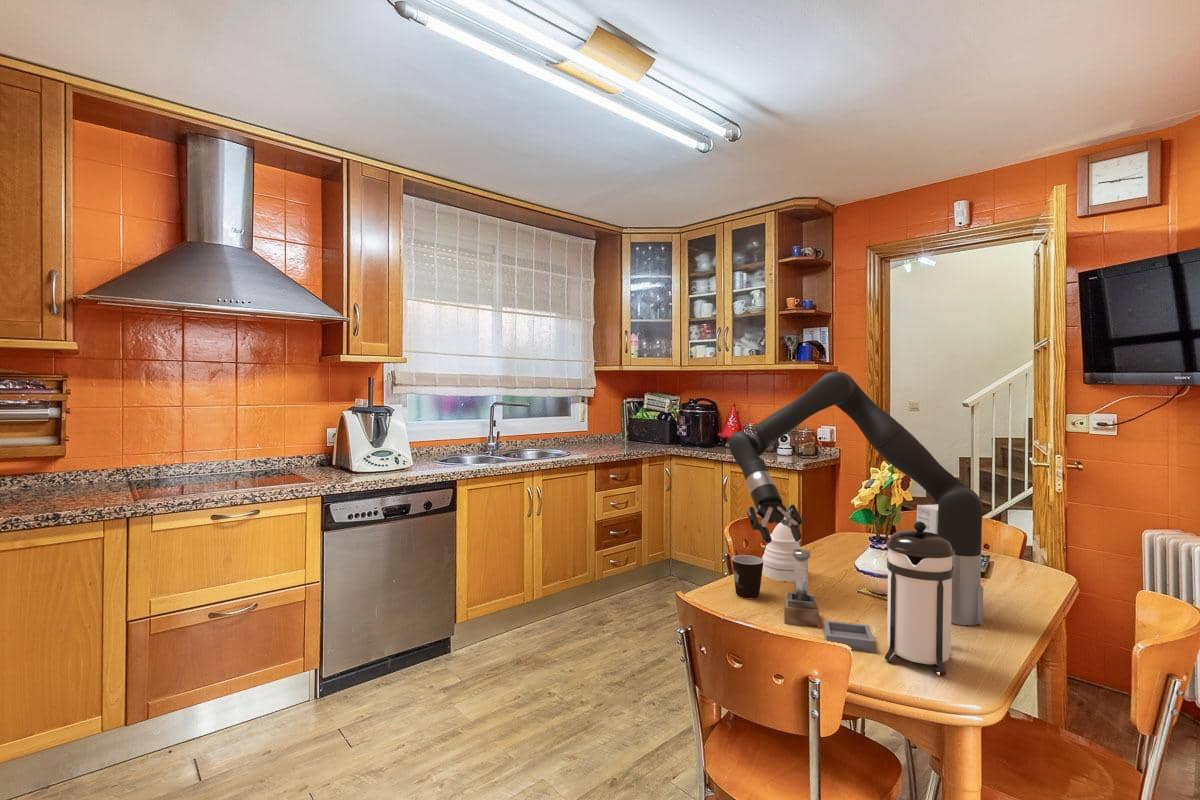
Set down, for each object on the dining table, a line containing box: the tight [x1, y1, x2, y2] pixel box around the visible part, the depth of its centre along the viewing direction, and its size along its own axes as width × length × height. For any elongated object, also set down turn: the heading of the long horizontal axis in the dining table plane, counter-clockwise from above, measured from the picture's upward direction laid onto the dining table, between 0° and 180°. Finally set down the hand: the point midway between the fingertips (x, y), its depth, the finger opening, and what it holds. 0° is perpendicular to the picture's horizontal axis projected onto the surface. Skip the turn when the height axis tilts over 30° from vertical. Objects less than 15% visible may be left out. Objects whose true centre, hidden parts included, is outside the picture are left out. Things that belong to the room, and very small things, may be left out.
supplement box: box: [916, 503, 938, 534], centre depth 202 cm, size 10×9×17 cm
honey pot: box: [761, 517, 802, 583], centre depth 180 cm, size 13×13×18 cm
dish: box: [823, 619, 876, 653], centre depth 134 cm, size 10×9×2 cm
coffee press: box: [884, 521, 955, 676], centre depth 126 cm, size 17×16×30 cm
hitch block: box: [783, 591, 820, 628], centre depth 147 cm, size 8×8×6 cm
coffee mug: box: [731, 554, 764, 599], centre depth 165 cm, size 12×9×10 cm
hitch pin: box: [793, 548, 811, 601], centre depth 146 cm, size 4×4×13 cm
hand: (784, 541), depth 155 cm, fingers open, 8 cm apart
